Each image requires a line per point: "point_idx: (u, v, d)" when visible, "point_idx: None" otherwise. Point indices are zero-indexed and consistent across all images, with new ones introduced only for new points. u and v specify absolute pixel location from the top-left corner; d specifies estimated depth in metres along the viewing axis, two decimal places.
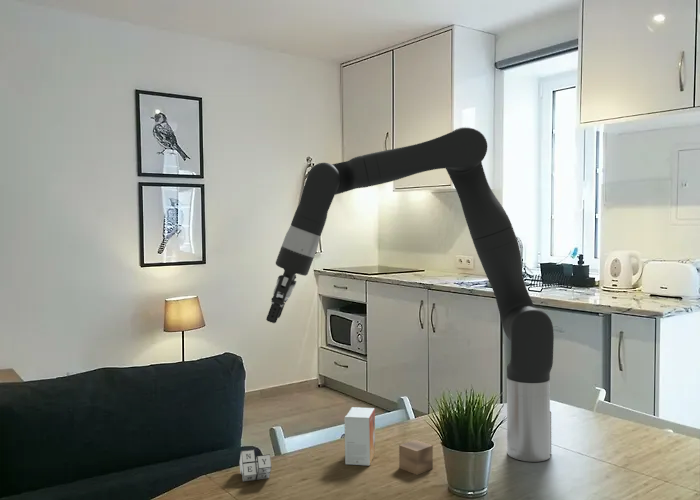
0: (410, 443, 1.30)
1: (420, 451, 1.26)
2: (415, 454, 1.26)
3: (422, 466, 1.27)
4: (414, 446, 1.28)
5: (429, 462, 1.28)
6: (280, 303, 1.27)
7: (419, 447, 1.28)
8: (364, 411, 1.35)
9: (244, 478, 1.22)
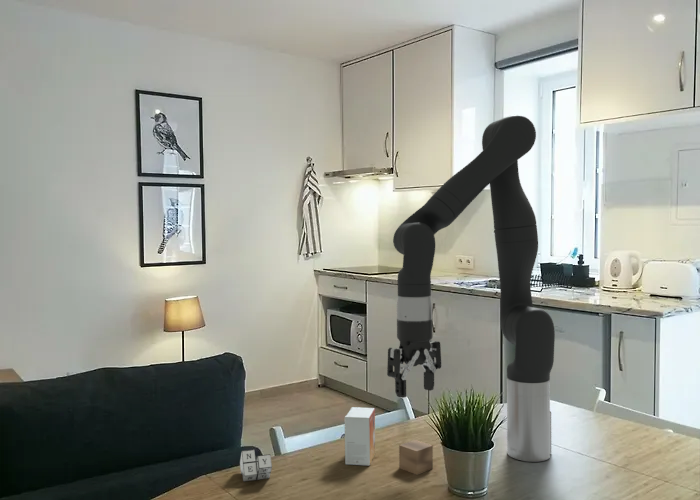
0: (410, 443, 1.30)
1: (420, 451, 1.26)
2: (414, 454, 1.26)
3: (422, 466, 1.27)
4: (414, 446, 1.28)
5: (429, 462, 1.28)
6: (394, 376, 1.23)
7: (419, 447, 1.28)
8: (364, 411, 1.35)
9: (244, 478, 1.22)
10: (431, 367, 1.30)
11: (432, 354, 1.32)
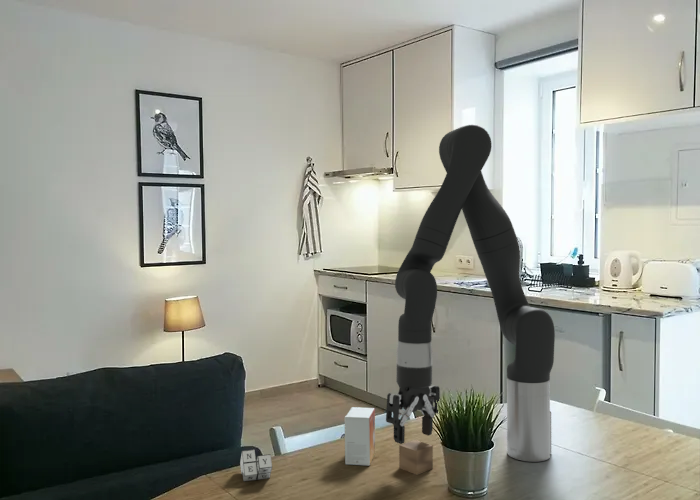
0: (410, 443, 1.30)
1: (420, 451, 1.26)
2: (414, 454, 1.26)
3: (422, 466, 1.27)
4: (414, 446, 1.28)
5: (429, 462, 1.28)
6: (393, 423, 1.24)
7: (419, 447, 1.28)
8: (364, 411, 1.35)
9: (245, 478, 1.22)
10: (430, 412, 1.30)
11: (431, 398, 1.33)
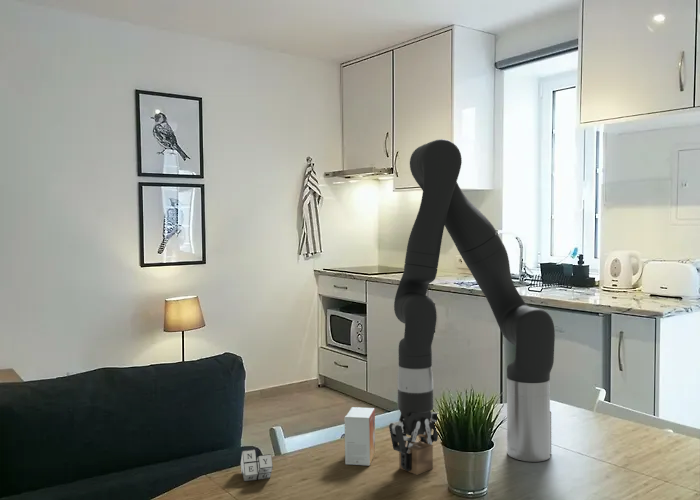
0: None
1: (420, 451, 1.26)
2: (414, 454, 1.26)
3: (422, 466, 1.27)
4: (414, 445, 1.28)
5: (429, 462, 1.28)
6: (400, 451, 1.25)
7: (419, 446, 1.28)
8: (364, 411, 1.35)
9: (245, 478, 1.22)
10: (428, 440, 1.30)
11: (430, 425, 1.32)
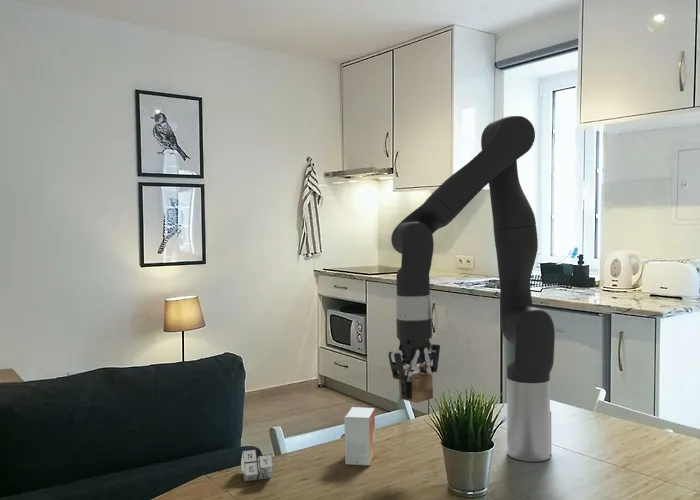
0: None
1: (420, 379, 1.26)
2: (414, 382, 1.25)
3: (422, 394, 1.26)
4: (414, 375, 1.28)
5: (429, 391, 1.28)
6: (400, 379, 1.24)
7: (418, 376, 1.28)
8: (364, 411, 1.35)
9: (246, 478, 1.22)
10: (428, 370, 1.29)
11: (430, 356, 1.32)
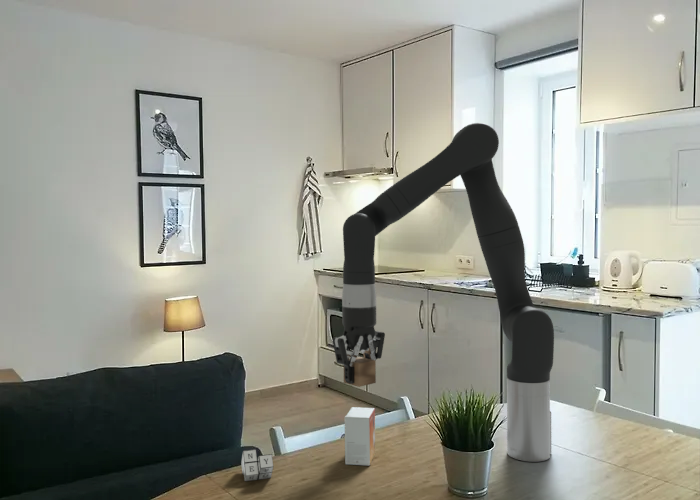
0: (355, 359, 1.35)
1: (363, 364, 1.31)
2: (357, 367, 1.31)
3: (364, 379, 1.32)
4: (357, 360, 1.34)
5: (372, 376, 1.33)
6: (342, 363, 1.30)
7: (362, 361, 1.33)
8: (364, 411, 1.35)
9: (246, 478, 1.22)
10: (371, 356, 1.35)
11: (375, 344, 1.37)
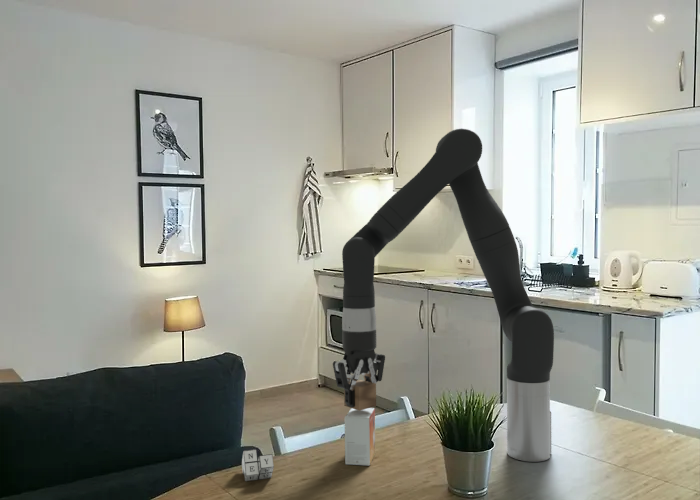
0: None
1: (363, 388, 1.32)
2: (357, 391, 1.31)
3: (365, 402, 1.32)
4: (358, 384, 1.34)
5: (372, 399, 1.33)
6: (343, 387, 1.30)
7: (362, 384, 1.33)
8: (364, 411, 1.35)
9: (246, 478, 1.22)
10: (372, 379, 1.35)
11: (375, 366, 1.38)
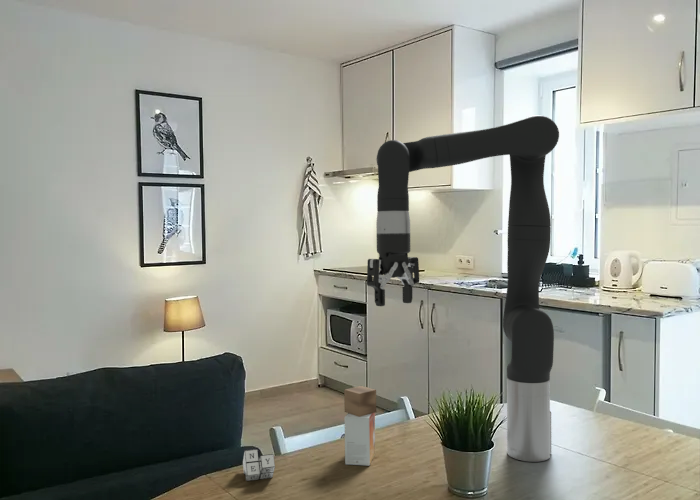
0: (355, 388, 1.36)
1: (363, 394, 1.32)
2: (357, 397, 1.31)
3: (365, 408, 1.32)
4: (358, 390, 1.34)
5: (372, 405, 1.34)
6: (373, 285, 1.30)
7: (362, 390, 1.33)
8: None
9: (247, 478, 1.22)
10: (409, 280, 1.37)
11: (410, 270, 1.39)
